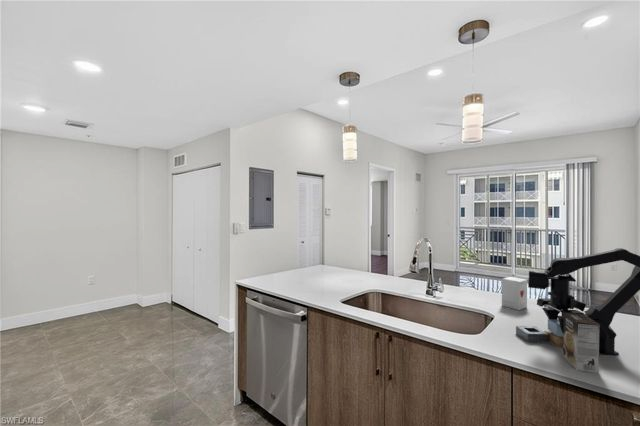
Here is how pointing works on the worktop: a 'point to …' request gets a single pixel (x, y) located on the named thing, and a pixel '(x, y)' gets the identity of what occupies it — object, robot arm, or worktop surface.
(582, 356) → the coffee box
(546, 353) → the worktop surface
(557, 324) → the plug
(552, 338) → the tan shallow tray
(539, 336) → the port
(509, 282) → the supplement box
